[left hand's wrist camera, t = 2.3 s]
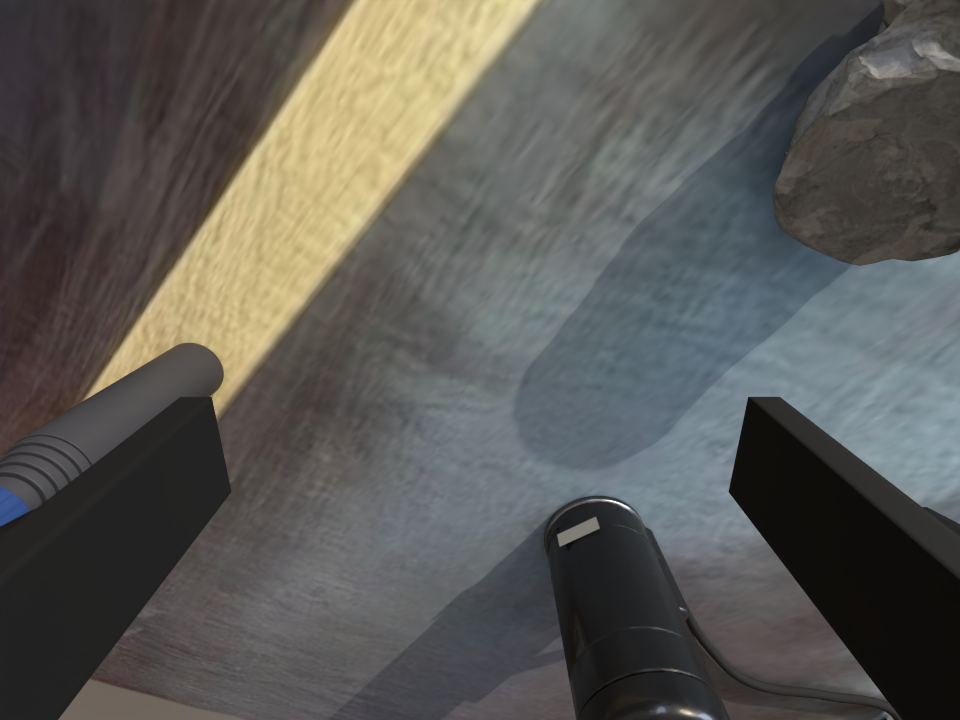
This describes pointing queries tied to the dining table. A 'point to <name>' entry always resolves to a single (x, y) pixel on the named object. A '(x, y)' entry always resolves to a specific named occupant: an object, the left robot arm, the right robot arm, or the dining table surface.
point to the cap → (10, 506)
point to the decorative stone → (881, 145)
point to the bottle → (105, 422)
